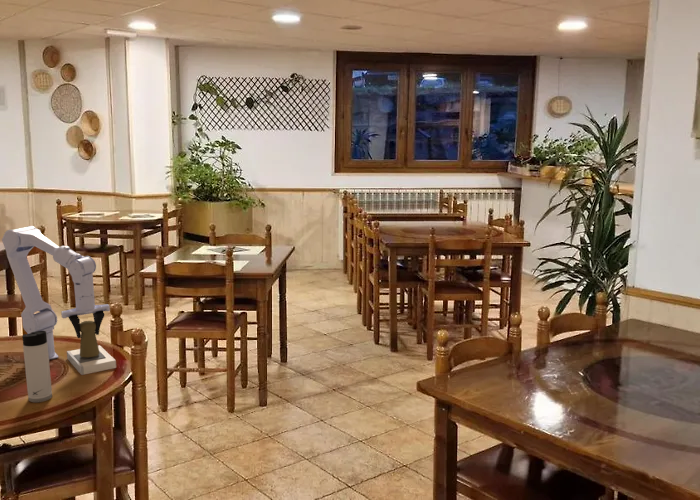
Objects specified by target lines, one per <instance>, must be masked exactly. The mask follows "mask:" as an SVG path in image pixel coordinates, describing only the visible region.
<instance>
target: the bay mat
mask: <svg viewBox="0 0 700 500" xmlns="http://www.w3.org/2000/svg"><path fill="white" fill-rule="evenodd" d="M74 357H75V358H76V359H77V360H78V361H79V362H80V363H83V362H88V361H93V360H99V359H104V358H106V357H105V356H104V355H103V354H102V353H101V352H100V351H99V355H97V356H94V357H81V356H80V354H77V355H74Z"/></svg>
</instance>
